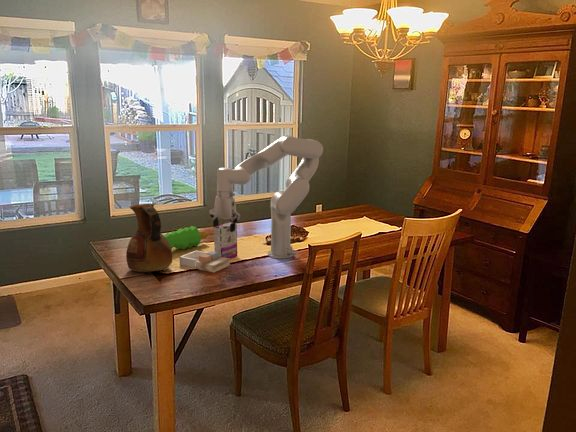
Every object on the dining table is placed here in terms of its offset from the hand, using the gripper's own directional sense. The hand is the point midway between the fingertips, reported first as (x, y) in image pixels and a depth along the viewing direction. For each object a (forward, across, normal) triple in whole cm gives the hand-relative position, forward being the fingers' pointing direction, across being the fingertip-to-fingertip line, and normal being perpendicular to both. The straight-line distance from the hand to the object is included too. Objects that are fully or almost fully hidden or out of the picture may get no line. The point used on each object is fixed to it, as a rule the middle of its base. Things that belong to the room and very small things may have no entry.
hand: (224, 229), depth 243 cm
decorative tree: (+15, +27, -1) cm, 31 cm away
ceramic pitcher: (+15, +17, +31) cm, 39 cm away
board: (+14, -4, +13) cm, 20 cm away
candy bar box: (+14, -1, -1) cm, 14 cm away
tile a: (+11, -1, +11) cm, 15 cm away
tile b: (+11, -1, +16) cm, 19 cm away
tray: (+14, +6, +13) cm, 21 cm away
